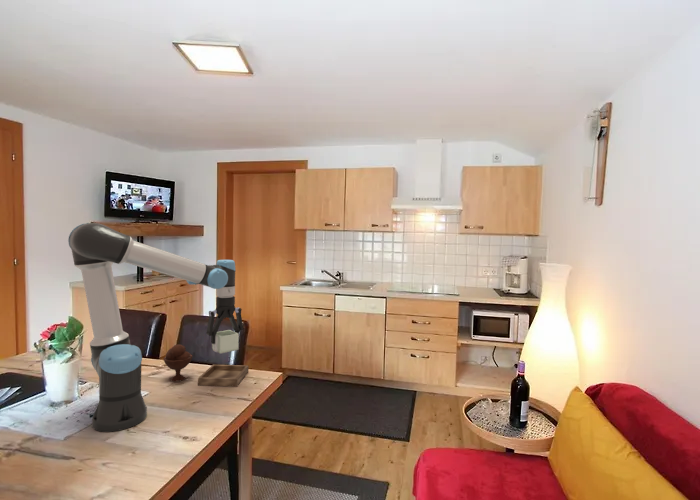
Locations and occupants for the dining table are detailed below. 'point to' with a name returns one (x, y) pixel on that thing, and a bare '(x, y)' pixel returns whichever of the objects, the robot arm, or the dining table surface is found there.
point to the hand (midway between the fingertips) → (225, 348)
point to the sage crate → (227, 341)
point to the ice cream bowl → (177, 360)
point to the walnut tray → (223, 375)
